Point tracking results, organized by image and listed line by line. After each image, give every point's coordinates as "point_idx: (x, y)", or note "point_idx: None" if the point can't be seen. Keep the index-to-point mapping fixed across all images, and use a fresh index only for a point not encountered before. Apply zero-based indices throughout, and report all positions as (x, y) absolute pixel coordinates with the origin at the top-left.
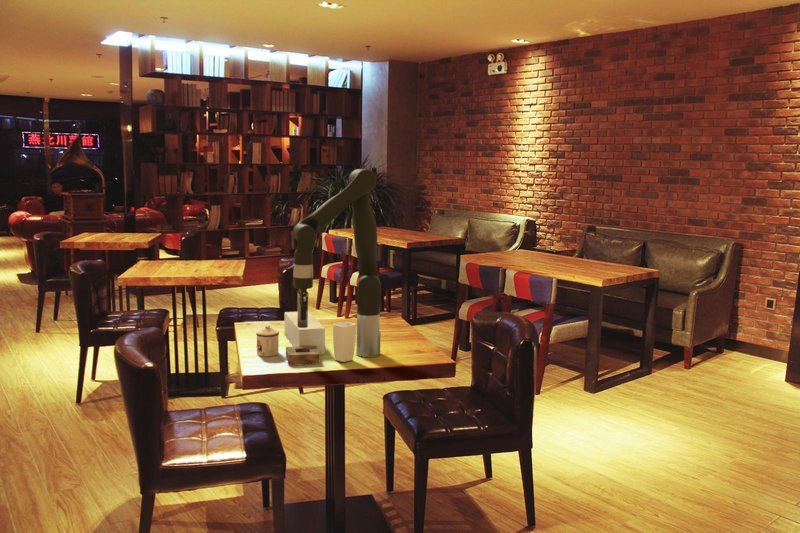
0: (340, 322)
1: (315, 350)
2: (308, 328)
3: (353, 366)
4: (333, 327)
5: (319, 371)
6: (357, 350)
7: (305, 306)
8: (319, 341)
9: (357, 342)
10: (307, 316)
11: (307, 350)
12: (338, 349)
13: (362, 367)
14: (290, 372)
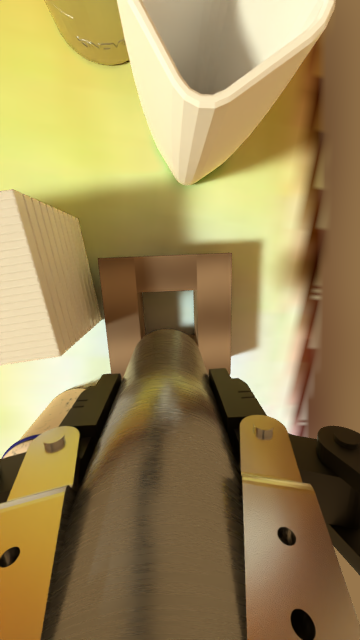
0: (145, 8)
1: (176, 267)
2: (28, 302)
3: (276, 115)
4: (212, 122)
5: (307, 262)
6: (118, 44)
7: (265, 476)
8: (62, 237)
9: (105, 2)
10: (187, 362)
11: (138, 297)
12: (227, 154)
13: (298, 74)
14: (295, 355)
